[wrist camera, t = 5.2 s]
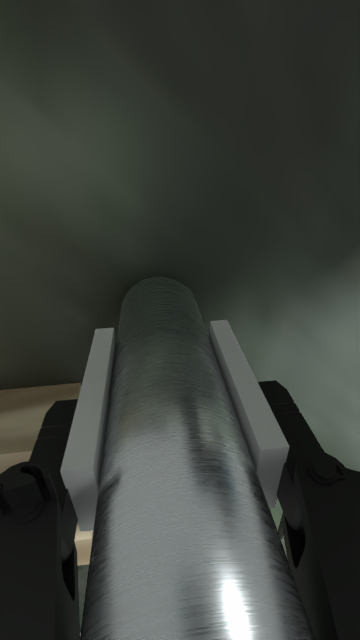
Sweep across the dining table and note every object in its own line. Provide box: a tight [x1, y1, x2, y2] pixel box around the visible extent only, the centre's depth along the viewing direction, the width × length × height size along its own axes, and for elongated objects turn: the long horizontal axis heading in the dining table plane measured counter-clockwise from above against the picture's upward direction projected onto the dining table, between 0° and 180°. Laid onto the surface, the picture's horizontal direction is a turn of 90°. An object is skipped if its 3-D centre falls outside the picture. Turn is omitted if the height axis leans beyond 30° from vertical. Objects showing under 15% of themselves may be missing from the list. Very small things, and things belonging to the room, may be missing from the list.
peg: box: [80, 277, 316, 640], centre depth 10 cm, size 4×4×15 cm
